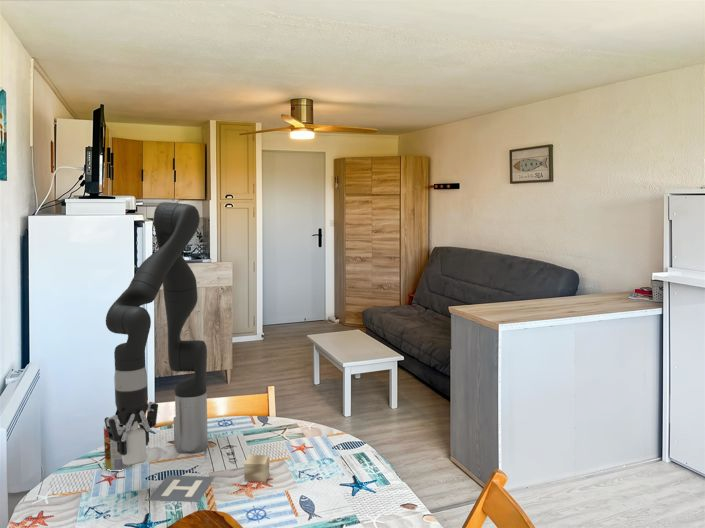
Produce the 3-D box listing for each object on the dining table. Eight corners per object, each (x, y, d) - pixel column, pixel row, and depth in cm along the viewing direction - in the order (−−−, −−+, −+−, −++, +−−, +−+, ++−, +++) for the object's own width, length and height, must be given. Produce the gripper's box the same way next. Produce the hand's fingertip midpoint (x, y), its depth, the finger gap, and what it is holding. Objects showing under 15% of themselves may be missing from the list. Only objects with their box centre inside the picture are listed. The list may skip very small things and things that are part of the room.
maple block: (244, 483, 144) (244, 463, 144) (249, 473, 150) (249, 454, 149) (264, 484, 144) (264, 464, 144) (269, 474, 149) (269, 455, 149)
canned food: (131, 457, 160) (130, 417, 159) (138, 467, 153) (136, 426, 152) (102, 463, 155) (101, 423, 154) (108, 474, 149) (106, 432, 148)
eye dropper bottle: (126, 457, 140) (124, 412, 139) (148, 456, 140) (146, 411, 139) (120, 465, 136) (117, 418, 134) (142, 464, 136) (140, 418, 134)
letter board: (147, 502, 134) (147, 500, 134) (167, 477, 147) (167, 475, 147) (198, 504, 134) (198, 501, 134) (215, 478, 147) (215, 476, 147)
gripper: (113, 396, 128) (117, 465, 129) (164, 379, 140) (167, 442, 141) (95, 390, 132) (98, 456, 134) (146, 374, 144) (148, 436, 145)
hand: (133, 449), depth 137 cm, fingers closed on eye dropper bottle, 5 cm apart
